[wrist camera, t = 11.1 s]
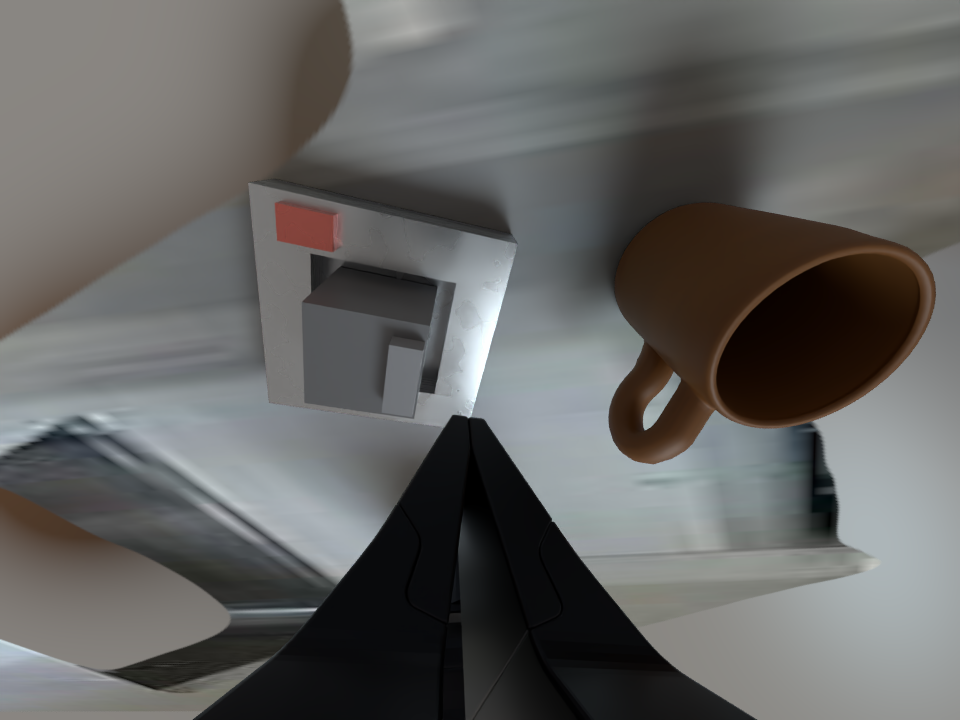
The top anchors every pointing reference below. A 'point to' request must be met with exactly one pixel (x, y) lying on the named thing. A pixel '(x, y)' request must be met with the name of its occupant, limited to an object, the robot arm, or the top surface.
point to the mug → (759, 321)
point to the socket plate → (387, 252)
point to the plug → (366, 342)
